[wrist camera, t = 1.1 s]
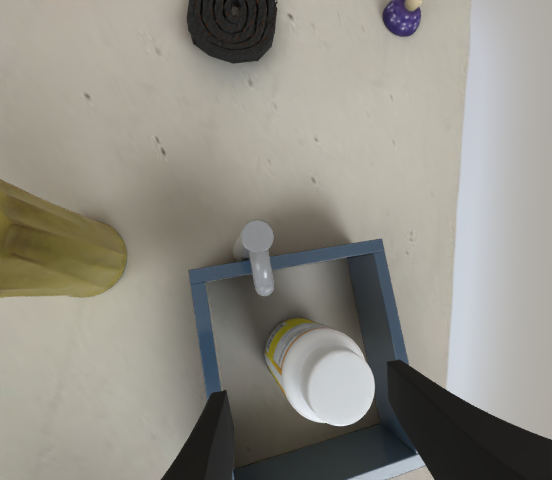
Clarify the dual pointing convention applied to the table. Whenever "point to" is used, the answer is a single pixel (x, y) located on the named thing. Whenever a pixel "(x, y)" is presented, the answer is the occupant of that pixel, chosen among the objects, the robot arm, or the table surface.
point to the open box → (378, 345)
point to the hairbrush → (232, 28)
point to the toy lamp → (402, 16)
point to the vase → (54, 249)
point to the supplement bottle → (320, 371)
